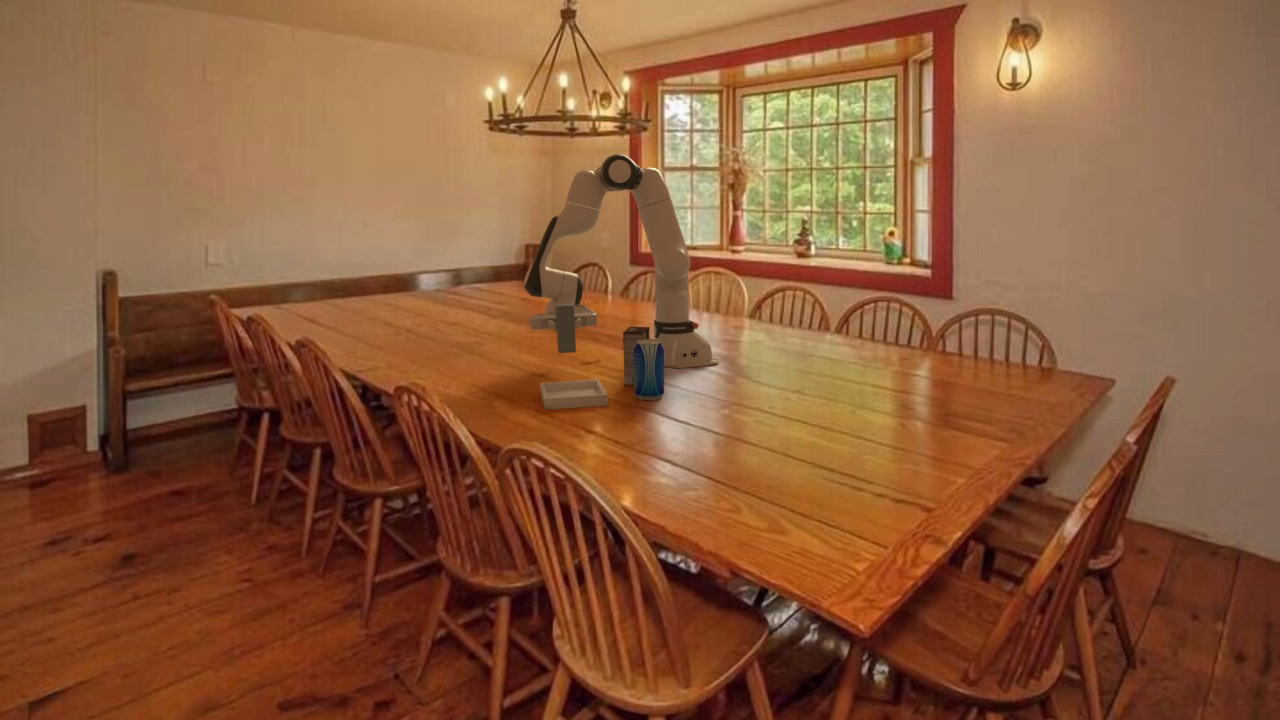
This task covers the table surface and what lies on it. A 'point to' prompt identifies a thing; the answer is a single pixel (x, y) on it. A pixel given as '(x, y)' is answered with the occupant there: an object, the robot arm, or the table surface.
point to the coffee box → (632, 350)
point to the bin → (573, 394)
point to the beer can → (648, 369)
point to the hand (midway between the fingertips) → (565, 325)
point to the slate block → (565, 328)
